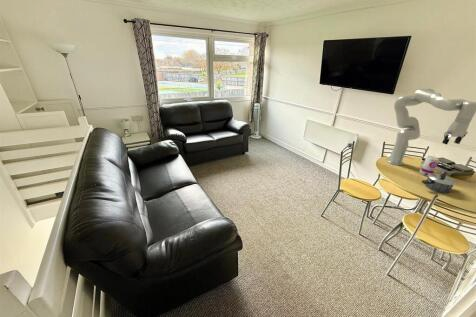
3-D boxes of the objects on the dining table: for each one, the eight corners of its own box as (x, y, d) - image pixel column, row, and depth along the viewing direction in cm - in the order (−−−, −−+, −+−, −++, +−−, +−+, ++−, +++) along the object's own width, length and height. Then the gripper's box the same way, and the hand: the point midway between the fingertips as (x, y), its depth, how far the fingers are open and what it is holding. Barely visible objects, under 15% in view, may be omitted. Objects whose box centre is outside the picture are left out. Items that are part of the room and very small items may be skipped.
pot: (412, 183, 158) (415, 175, 155) (438, 181, 161) (442, 174, 158) (429, 194, 146) (433, 186, 143) (457, 192, 148) (462, 184, 145)
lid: (422, 174, 156) (426, 167, 153) (439, 173, 158) (443, 166, 155) (442, 186, 143) (446, 178, 140) (460, 184, 145) (465, 176, 142)
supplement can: (433, 177, 167) (442, 160, 160) (422, 175, 169) (430, 159, 162) (427, 172, 174) (435, 156, 168) (416, 171, 176) (424, 155, 169)
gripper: (467, 118, 144) (455, 141, 152) (445, 119, 142) (434, 141, 150) (480, 121, 137) (466, 145, 145) (457, 122, 135) (445, 146, 143)
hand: (450, 143), depth 148 cm, fingers open, 9 cm apart
